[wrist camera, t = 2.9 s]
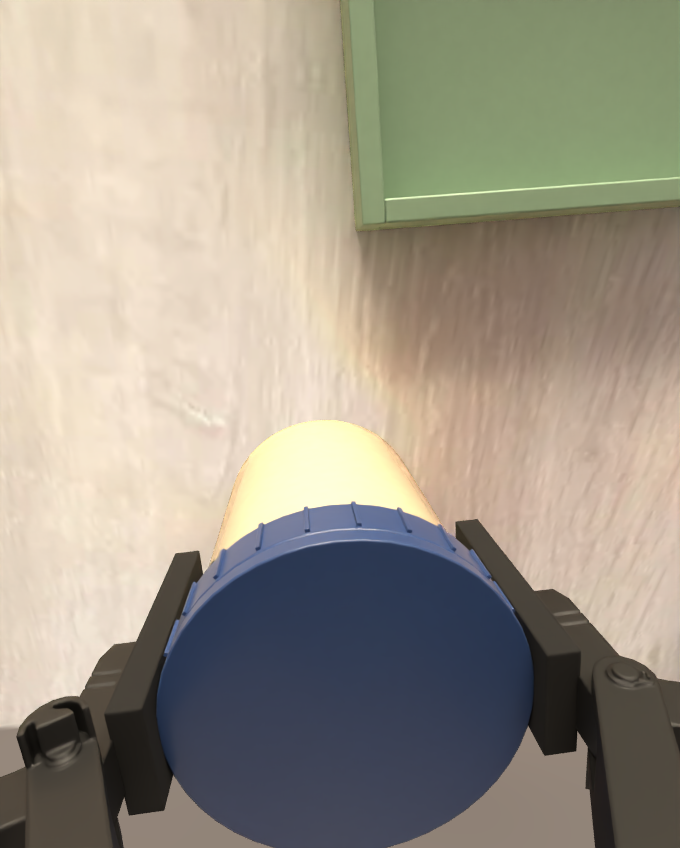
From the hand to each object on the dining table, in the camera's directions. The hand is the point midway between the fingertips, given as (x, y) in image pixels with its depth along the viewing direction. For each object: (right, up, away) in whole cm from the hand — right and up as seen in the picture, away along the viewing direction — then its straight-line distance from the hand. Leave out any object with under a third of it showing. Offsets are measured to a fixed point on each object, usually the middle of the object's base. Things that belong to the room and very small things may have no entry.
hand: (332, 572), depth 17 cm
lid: (0, -1, -5) cm, 5 cm away
